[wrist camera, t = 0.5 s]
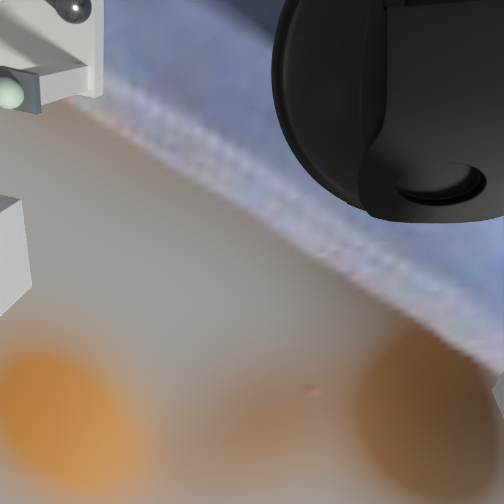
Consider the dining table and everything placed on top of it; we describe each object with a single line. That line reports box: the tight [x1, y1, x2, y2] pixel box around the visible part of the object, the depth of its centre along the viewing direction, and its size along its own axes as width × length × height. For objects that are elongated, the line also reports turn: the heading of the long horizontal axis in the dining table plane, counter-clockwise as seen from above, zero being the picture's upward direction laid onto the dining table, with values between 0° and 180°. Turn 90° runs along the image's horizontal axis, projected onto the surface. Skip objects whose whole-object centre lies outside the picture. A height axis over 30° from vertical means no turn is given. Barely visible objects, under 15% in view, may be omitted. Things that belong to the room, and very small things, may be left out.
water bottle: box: [271, 0, 504, 223], centre depth 21 cm, size 10×10×23 cm
